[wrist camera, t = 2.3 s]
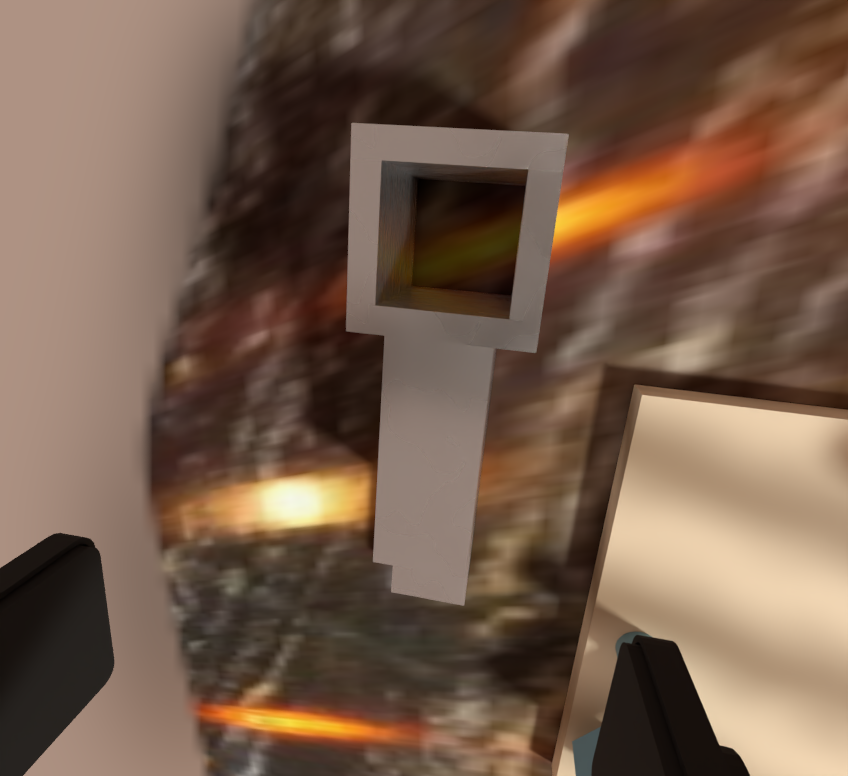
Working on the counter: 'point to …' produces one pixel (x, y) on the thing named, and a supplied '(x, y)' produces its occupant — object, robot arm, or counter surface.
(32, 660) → the robot arm
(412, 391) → the link
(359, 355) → the counter surface
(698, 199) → the counter surface
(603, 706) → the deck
